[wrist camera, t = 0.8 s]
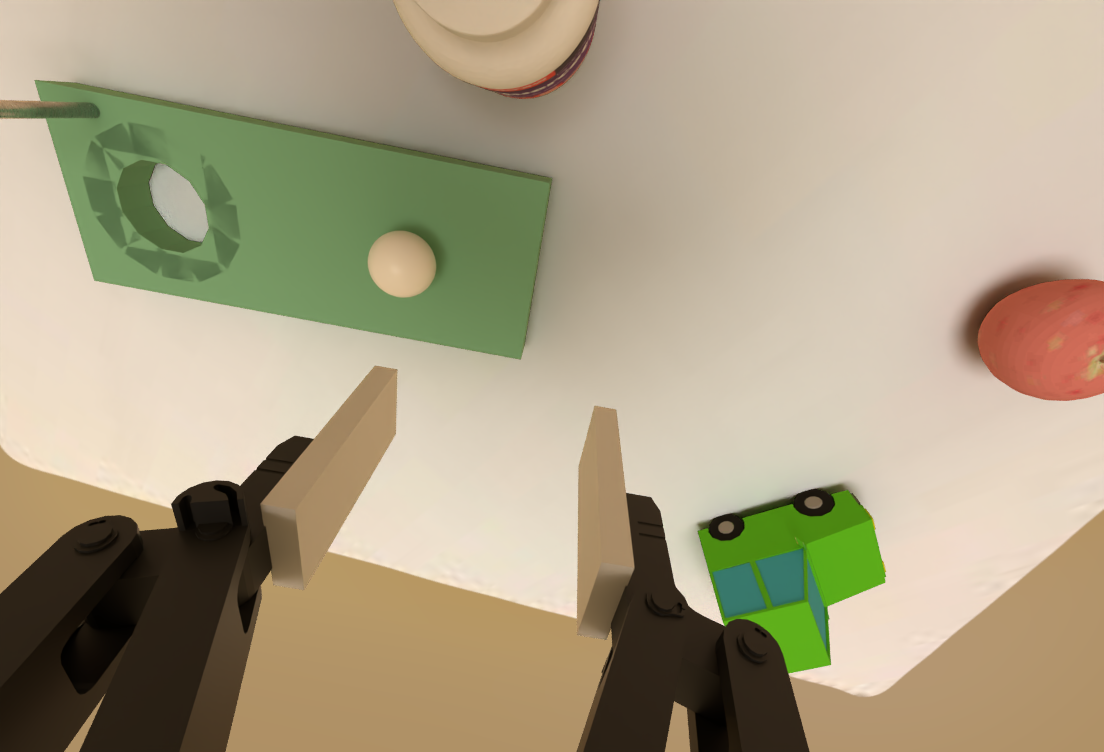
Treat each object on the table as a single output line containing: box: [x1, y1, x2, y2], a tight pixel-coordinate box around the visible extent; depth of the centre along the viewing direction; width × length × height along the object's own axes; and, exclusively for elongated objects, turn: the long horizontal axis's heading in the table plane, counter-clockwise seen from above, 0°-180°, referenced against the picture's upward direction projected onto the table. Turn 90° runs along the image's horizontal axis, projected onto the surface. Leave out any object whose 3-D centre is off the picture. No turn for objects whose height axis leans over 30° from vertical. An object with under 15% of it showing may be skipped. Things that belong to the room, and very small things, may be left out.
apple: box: [978, 279, 1104, 401], centre depth 30 cm, size 7×7×8 cm
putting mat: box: [35, 80, 552, 360], centre depth 32 cm, size 12×30×2 cm, turn 80°
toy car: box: [698, 489, 886, 673], centre depth 40 cm, size 10×13×10 cm
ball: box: [368, 231, 436, 298], centre depth 29 cm, size 4×4×4 cm
